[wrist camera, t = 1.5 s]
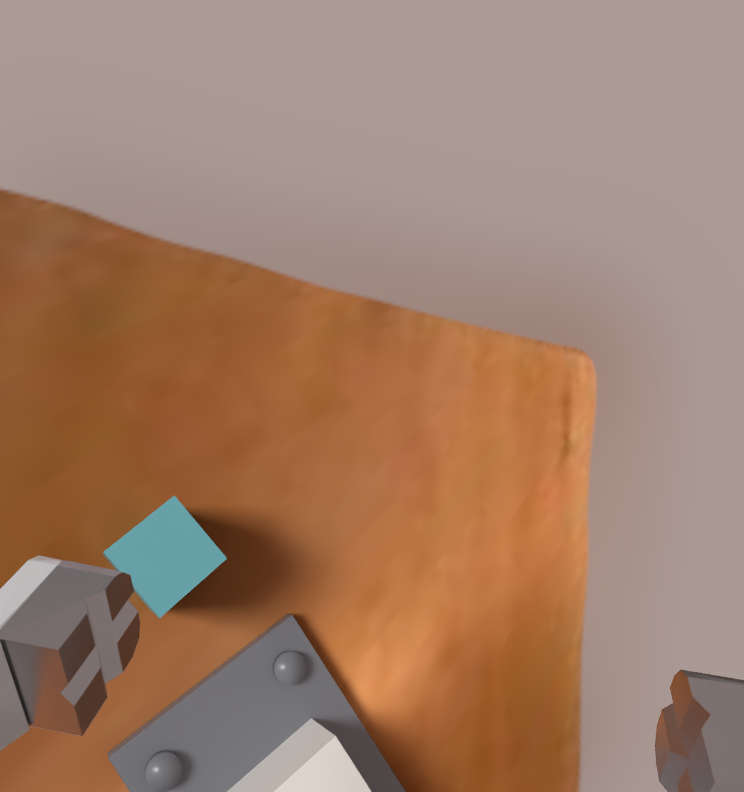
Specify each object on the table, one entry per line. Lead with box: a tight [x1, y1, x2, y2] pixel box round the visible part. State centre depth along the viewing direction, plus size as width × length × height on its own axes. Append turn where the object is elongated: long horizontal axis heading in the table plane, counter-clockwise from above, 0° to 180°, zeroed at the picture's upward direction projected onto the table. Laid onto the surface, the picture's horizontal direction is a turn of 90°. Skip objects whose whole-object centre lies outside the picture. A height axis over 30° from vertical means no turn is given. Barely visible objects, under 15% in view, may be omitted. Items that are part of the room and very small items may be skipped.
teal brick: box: [104, 496, 227, 618], centre depth 39 cm, size 4×4×8 cm
